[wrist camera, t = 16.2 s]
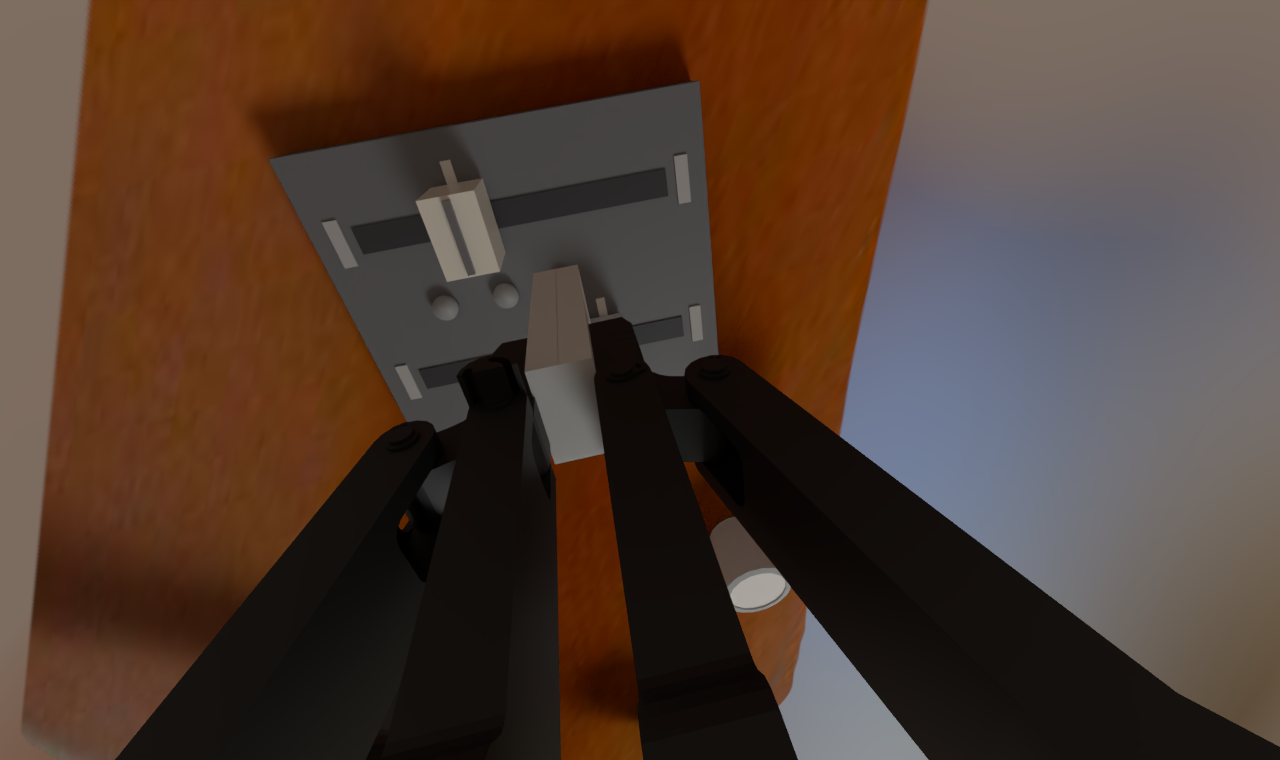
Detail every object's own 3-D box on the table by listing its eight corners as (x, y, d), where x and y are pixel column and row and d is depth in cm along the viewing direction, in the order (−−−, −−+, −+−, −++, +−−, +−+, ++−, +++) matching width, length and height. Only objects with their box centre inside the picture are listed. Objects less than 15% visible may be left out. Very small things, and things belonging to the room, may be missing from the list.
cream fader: (457, 261, 30) (445, 283, 27) (430, 187, 28) (414, 202, 24) (505, 252, 30) (499, 273, 27) (482, 178, 28) (473, 191, 24)
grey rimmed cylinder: (705, 515, 49) (726, 574, 44) (769, 507, 50) (798, 564, 44) (702, 558, 53) (720, 618, 47) (761, 550, 54) (787, 608, 48)
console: (422, 423, 39) (414, 444, 36) (285, 154, 28) (262, 161, 26) (712, 363, 40) (721, 379, 38) (690, 80, 29) (702, 81, 27)
